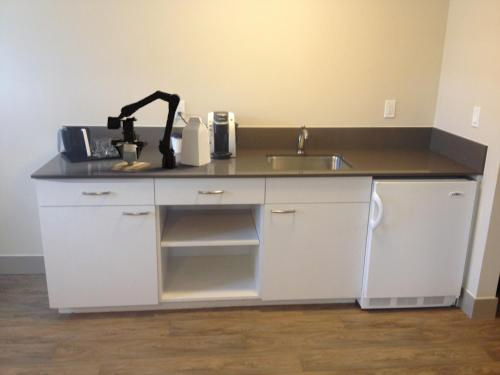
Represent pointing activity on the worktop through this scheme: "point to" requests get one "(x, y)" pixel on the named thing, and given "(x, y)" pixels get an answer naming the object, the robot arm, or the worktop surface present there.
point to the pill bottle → (129, 147)
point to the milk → (195, 143)
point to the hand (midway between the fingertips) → (130, 158)
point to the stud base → (130, 166)
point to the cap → (129, 155)
